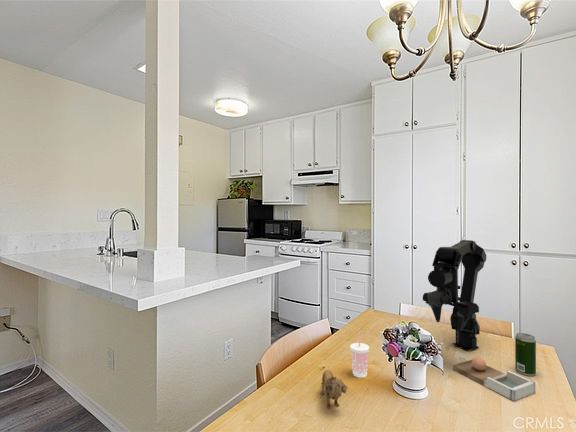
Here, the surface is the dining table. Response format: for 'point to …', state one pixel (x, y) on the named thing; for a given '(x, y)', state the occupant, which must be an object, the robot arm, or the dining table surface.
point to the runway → (479, 373)
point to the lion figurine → (332, 388)
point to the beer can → (525, 354)
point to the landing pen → (512, 386)
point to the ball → (478, 363)
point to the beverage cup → (359, 358)
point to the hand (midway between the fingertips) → (449, 326)
